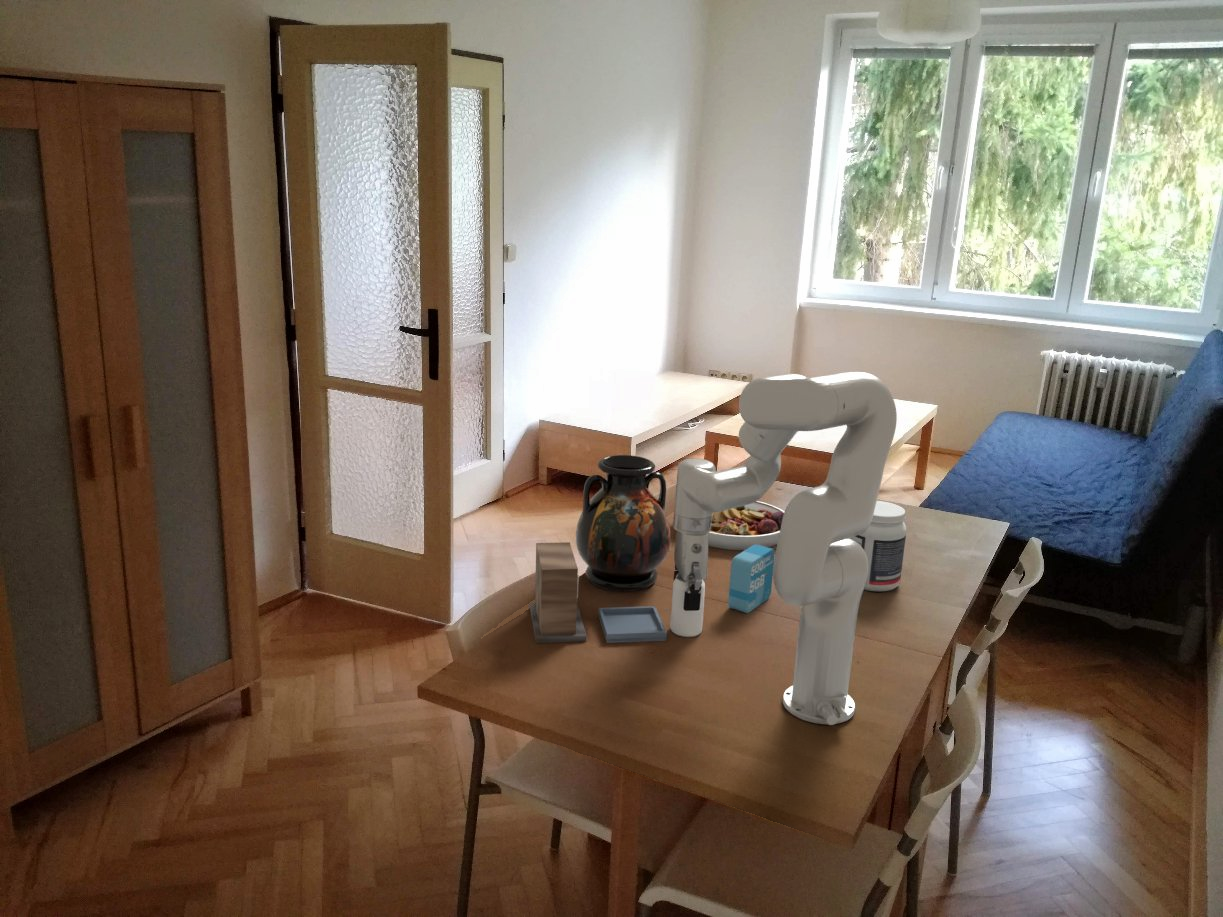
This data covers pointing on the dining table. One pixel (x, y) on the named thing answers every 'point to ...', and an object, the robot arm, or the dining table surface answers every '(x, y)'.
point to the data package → (751, 578)
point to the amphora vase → (623, 525)
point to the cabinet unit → (556, 595)
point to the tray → (632, 624)
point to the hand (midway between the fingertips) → (685, 599)
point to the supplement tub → (884, 546)
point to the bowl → (746, 527)
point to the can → (681, 619)
